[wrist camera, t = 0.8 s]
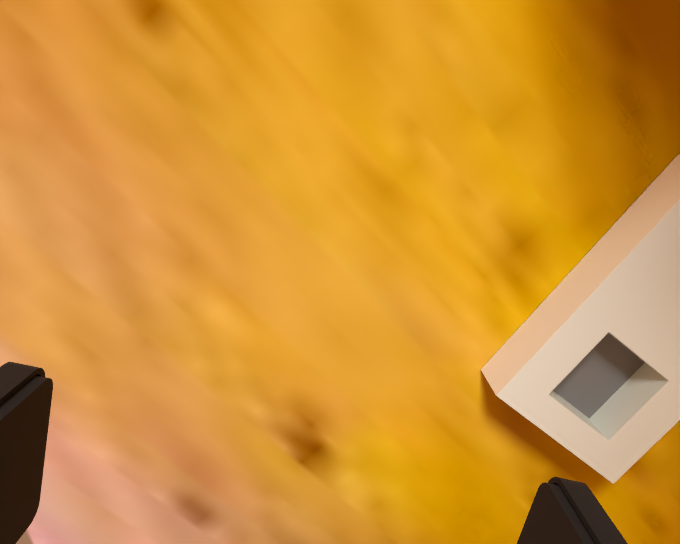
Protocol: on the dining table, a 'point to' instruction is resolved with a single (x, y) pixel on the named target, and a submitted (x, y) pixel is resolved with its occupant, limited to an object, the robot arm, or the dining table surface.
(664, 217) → the socket panel
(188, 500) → the dining table surface
